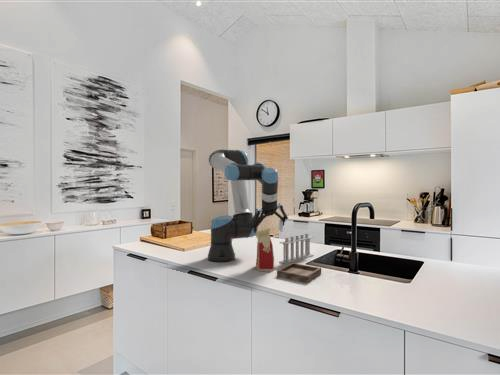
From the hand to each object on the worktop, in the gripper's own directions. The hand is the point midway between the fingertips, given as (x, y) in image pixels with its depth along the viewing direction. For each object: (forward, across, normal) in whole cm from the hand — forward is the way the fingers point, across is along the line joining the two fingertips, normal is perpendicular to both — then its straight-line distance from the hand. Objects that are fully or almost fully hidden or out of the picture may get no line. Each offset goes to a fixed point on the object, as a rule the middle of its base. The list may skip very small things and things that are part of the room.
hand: (269, 233), depth 153 cm
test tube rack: (+18, +15, -6) cm, 24 cm away
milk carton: (+10, -8, -12) cm, 18 cm away
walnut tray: (+6, +3, -27) cm, 27 cm away
